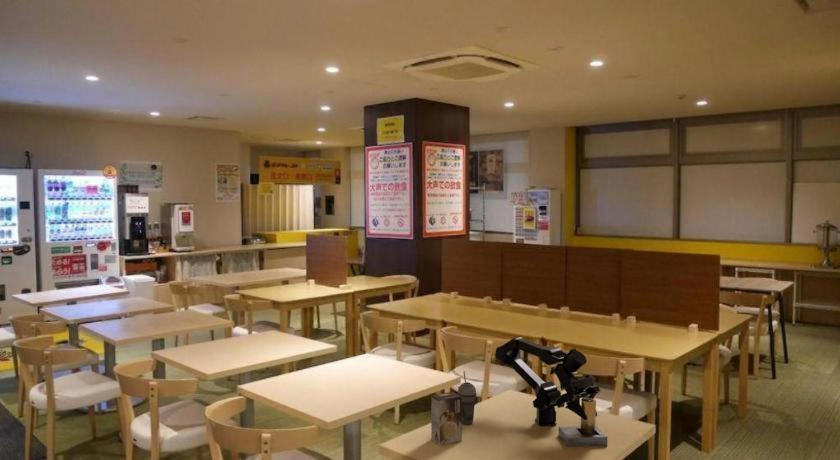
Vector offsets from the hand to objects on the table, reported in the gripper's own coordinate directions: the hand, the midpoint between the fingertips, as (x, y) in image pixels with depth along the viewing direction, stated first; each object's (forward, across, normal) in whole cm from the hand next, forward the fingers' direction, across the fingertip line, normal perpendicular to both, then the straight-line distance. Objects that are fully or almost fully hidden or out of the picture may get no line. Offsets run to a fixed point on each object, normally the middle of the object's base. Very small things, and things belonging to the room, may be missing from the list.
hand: (591, 417), depth 210 cm
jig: (+4, -2, +8) cm, 9 cm away
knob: (+4, 0, +6) cm, 7 cm away
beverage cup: (-20, -25, +33) cm, 46 cm away
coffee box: (-15, -41, +27) cm, 52 cm away
